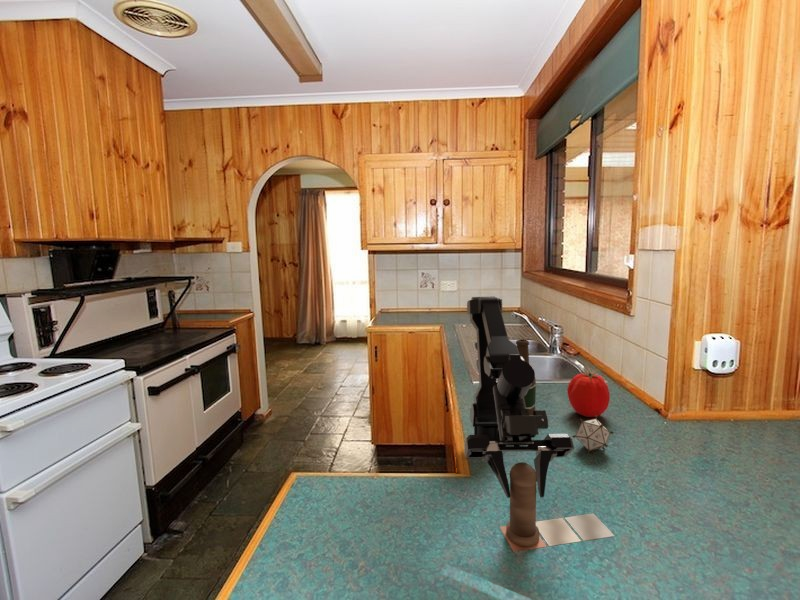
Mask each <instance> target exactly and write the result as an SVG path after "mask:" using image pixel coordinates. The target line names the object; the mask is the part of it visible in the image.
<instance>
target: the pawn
mask: <svg viewBox="0 0 800 600" xmlns="http://www.w3.org/2000/svg"><path fill="white" fill-rule="evenodd" d="M509 489H510V498H509V521H508V522H506V525H505V526H506V535H507V537H508V539H509V540H510V541H512V542H513V543H515V544H517V545H520V546H527V547H528V546H533V545H535V544H537V543H538V541H539V536H540V532H539V529H538V527H537V526H536V522H537V521H536V519H537V475H536V472H535V467H533V466H532V465H530V464H529V463H527V462H523V461H522V462H517V463H515V464H514V465H512V466H511V468H510V470H509Z"/></svg>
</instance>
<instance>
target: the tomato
mask: <svg viewBox="0 0 800 600" xmlns="http://www.w3.org/2000/svg"><path fill="white" fill-rule="evenodd" d="M581 372H582V373H578V374H576V375H575V376H574V377H572V379H571V380H570V381H569V383H568V385H567V388H566V390H567V391H566V392H567V396H568V397H567V398H568V400H569V403H570V405H571V407H572V408H573V410H574V411H575V412H576V413H577V414H578V415H581V416H584V417H585V418H595V416H597V417H599V416H601V415H602V414H604V413H605V412H606V410H607V409H608V407H609V404H610V398H611V397H610V395H611V393H610V391H609V390H610V389H609V386H608V384H607V383H606V381H605V379H604V378H603V377H602V376H600V375H597V373H592V372H589V373H586V372H583V371H581Z"/></svg>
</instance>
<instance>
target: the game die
mask: <svg viewBox="0 0 800 600" xmlns="http://www.w3.org/2000/svg"><path fill="white" fill-rule="evenodd" d="M579 420H580V422H578V426H579V427H578V429H577V431H576V433H575V435H572V436H571V438H572V439H573V438H576V439H577V440H578V441H579V442H580V443H581V444H582V446H584V447H585V449H586V450H587V454H588V455H589V454H590V453H591V451H594V450H598V449H602V450H604V451H606V448H609V444H607V442H608V440H609V438H610V435H611V434H612V435H613V434H614V433H615V432H614V431H610V430H609V429H608V428H606V427H605V426H604V425H603V423H601V422H600V421H599V419H598V416H595V417H594V418H591V419H587V420H584V419H582V418H580V419H579Z"/></svg>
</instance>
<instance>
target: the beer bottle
mask: <svg viewBox="0 0 800 600" xmlns="http://www.w3.org/2000/svg"><path fill="white" fill-rule="evenodd" d="M515 345H516V346H517V348H518V351H519V354H520V356H522V357H523V359H524V360H525V361H526V362H527V363H529V364H530V355H529V354H530V353H529V345H530V341H529V340H528V339H522V338H520V339H516V342H515ZM536 379H537V378H536V377H535V378H534V381H533V383H532V385H531V386H530V388H529V390H528V392H527V394H526V395H525V396H524V400H525V405H526V409H528V412H529V416H533V410H536V397H537V396H536V395H537V394H536V393H537V390H536V389H537V382H536Z"/></svg>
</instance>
